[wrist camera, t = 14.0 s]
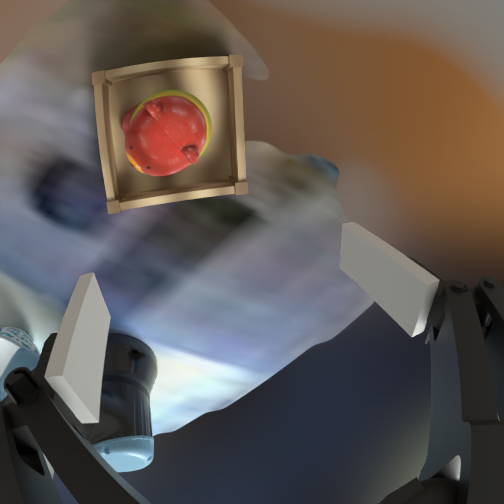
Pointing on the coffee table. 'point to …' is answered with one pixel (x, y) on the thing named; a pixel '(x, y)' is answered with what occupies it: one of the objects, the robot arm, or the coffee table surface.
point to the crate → (214, 157)
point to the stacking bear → (166, 132)
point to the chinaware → (13, 344)
